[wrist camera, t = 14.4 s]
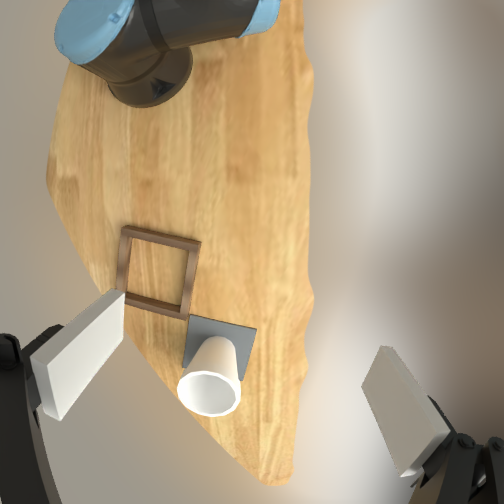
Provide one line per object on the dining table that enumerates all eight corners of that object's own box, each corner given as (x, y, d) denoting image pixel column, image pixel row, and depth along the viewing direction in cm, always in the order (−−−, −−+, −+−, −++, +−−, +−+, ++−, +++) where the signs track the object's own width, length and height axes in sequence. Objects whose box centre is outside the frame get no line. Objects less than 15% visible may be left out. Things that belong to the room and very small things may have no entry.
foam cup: (202, 373, 54) (190, 418, 41) (186, 334, 52) (167, 375, 39) (250, 365, 53) (247, 411, 40) (235, 323, 51) (229, 366, 38)
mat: (190, 314, 51) (190, 314, 51) (256, 329, 51) (256, 330, 51) (182, 366, 54) (182, 367, 53) (242, 379, 54) (242, 381, 54)
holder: (127, 225, 48) (121, 227, 45) (201, 242, 48) (198, 245, 46) (120, 295, 51) (115, 301, 48) (188, 314, 51) (185, 320, 49)
